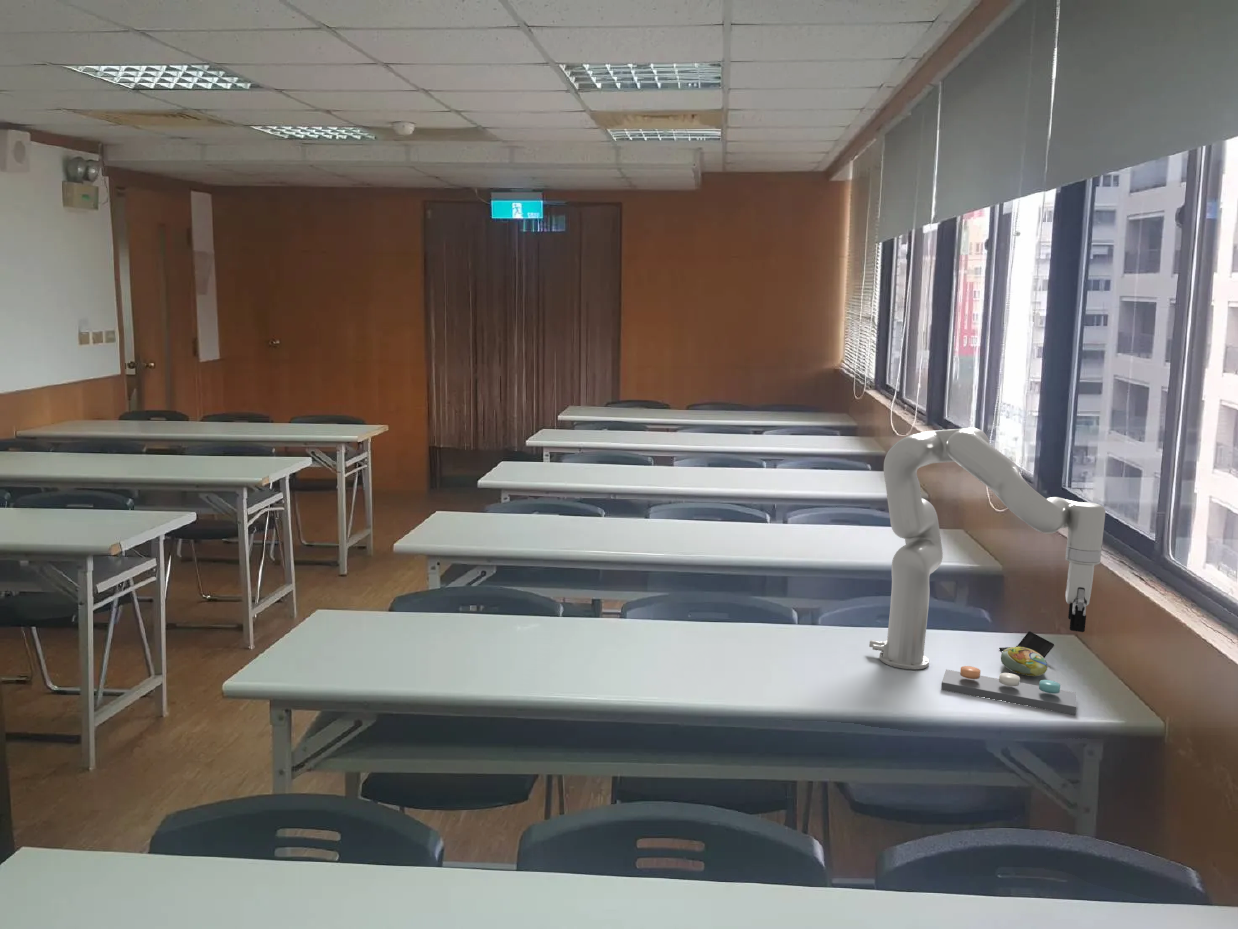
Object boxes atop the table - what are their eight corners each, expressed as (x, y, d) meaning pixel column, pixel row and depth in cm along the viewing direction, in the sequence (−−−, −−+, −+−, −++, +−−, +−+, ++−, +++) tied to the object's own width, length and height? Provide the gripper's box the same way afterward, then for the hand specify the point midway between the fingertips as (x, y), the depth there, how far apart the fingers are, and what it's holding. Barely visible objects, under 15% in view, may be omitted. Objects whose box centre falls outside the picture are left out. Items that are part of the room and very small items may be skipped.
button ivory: (998, 684, 243) (999, 677, 243) (999, 677, 248) (1000, 671, 247) (1018, 687, 242) (1019, 681, 241) (1019, 681, 246) (1020, 675, 246)
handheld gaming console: (993, 645, 277) (1017, 618, 277) (1006, 658, 280) (1029, 631, 280) (1023, 666, 267) (1047, 637, 267) (1036, 678, 270) (1060, 650, 270)
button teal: (1038, 691, 240) (1039, 684, 240) (1039, 684, 244) (1039, 678, 244) (1059, 695, 238) (1060, 688, 238) (1059, 688, 242) (1060, 682, 242)
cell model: (1041, 653, 269) (1057, 652, 254) (1033, 682, 267) (1049, 682, 253) (999, 640, 271) (1013, 638, 256) (992, 668, 270) (1005, 667, 255)
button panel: (941, 690, 246) (941, 682, 246) (945, 676, 255) (946, 669, 255) (1075, 715, 235) (1076, 707, 234) (1074, 700, 244) (1075, 692, 244)
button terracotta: (959, 676, 247) (959, 670, 247) (960, 670, 251) (961, 664, 251) (979, 680, 245) (979, 674, 245) (980, 674, 249) (981, 668, 249)
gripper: (1064, 545, 247) (1058, 613, 250) (1066, 561, 231) (1059, 633, 234) (1098, 549, 244) (1091, 617, 247) (1103, 565, 229) (1095, 638, 231)
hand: (1076, 625), depth 240 cm, fingers open, 9 cm apart
